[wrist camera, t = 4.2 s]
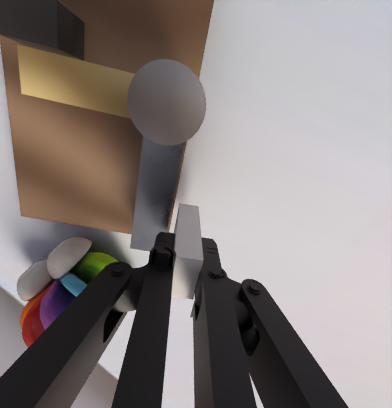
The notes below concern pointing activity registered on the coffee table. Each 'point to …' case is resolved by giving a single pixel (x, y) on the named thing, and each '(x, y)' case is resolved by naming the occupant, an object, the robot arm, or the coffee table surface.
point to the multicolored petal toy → (56, 283)
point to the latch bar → (154, 192)
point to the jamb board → (98, 99)
